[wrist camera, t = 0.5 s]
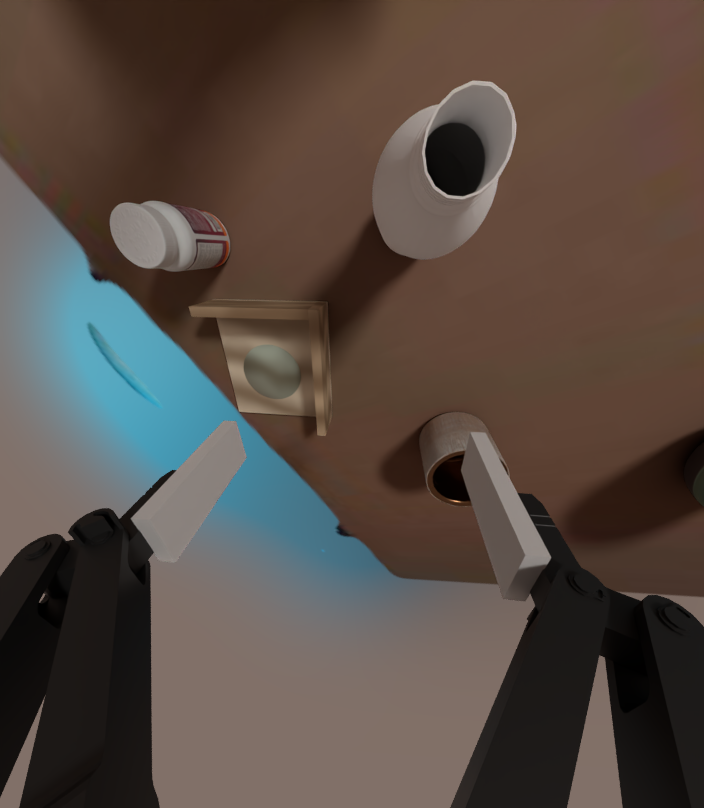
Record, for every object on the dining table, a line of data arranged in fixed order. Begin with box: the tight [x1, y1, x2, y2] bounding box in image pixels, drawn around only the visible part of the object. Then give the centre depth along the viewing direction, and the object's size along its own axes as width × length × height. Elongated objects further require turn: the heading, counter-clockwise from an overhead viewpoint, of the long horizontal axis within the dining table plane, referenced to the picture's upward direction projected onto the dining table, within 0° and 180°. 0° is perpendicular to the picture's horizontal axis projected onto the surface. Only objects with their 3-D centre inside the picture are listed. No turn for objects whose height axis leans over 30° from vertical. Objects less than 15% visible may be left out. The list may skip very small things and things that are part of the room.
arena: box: [189, 299, 332, 436], centre depth 39 cm, size 18×16×6 cm
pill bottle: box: [110, 201, 230, 272], centre depth 29 cm, size 6×6×11 cm
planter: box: [419, 412, 509, 507], centre depth 40 cm, size 11×11×10 cm
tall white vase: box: [372, 81, 516, 260], centre depth 20 cm, size 7×7×25 cm
